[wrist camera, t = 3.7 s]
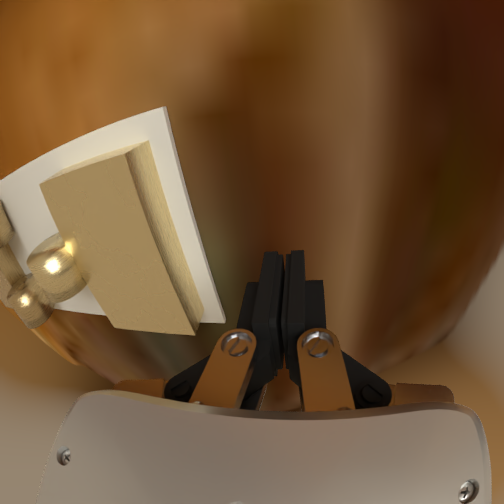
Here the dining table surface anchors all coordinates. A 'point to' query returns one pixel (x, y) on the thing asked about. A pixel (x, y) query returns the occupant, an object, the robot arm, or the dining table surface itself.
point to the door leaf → (117, 244)
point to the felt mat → (88, 146)
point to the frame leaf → (20, 283)
